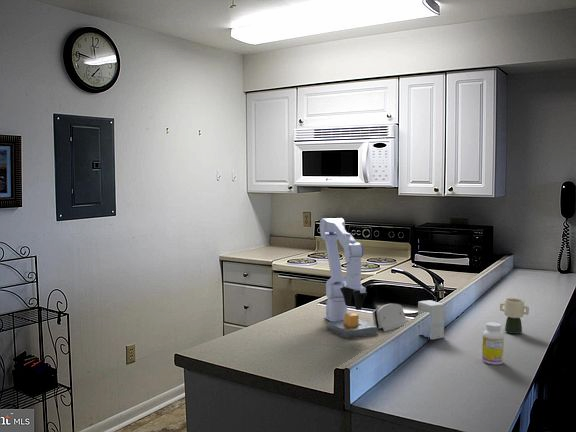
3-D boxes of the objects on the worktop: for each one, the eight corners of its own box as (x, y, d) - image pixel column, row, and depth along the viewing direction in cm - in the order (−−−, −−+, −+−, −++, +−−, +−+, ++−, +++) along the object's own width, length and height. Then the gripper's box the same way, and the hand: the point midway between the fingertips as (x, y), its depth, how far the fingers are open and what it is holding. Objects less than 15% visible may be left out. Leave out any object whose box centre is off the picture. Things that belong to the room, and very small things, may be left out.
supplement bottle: (486, 357, 188) (487, 320, 187) (506, 361, 184) (507, 323, 183) (479, 362, 183) (480, 324, 182) (499, 366, 179) (500, 327, 178)
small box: (444, 337, 210) (444, 304, 209) (430, 340, 208) (431, 305, 207) (429, 332, 218) (430, 299, 217) (417, 334, 215) (417, 301, 214)
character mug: (530, 333, 216) (531, 300, 215) (525, 337, 211) (526, 303, 210) (502, 328, 223) (503, 296, 222) (496, 332, 217) (497, 299, 216)
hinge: (384, 331, 218) (377, 306, 220) (375, 333, 222) (369, 308, 224) (410, 324, 229) (403, 300, 231) (401, 325, 233) (395, 302, 235)
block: (344, 331, 219) (344, 314, 218) (352, 330, 221) (352, 312, 220) (349, 334, 215) (349, 316, 215) (358, 332, 217) (358, 315, 217)
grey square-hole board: (327, 329, 221) (327, 322, 221) (357, 325, 228) (357, 318, 227) (346, 338, 209) (346, 331, 209) (377, 334, 215) (377, 326, 215)
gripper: (335, 271, 223) (335, 304, 224) (354, 277, 210) (354, 312, 211) (350, 269, 226) (350, 302, 227) (370, 276, 213) (370, 310, 214)
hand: (353, 307), depth 219 cm, fingers open, 7 cm apart
